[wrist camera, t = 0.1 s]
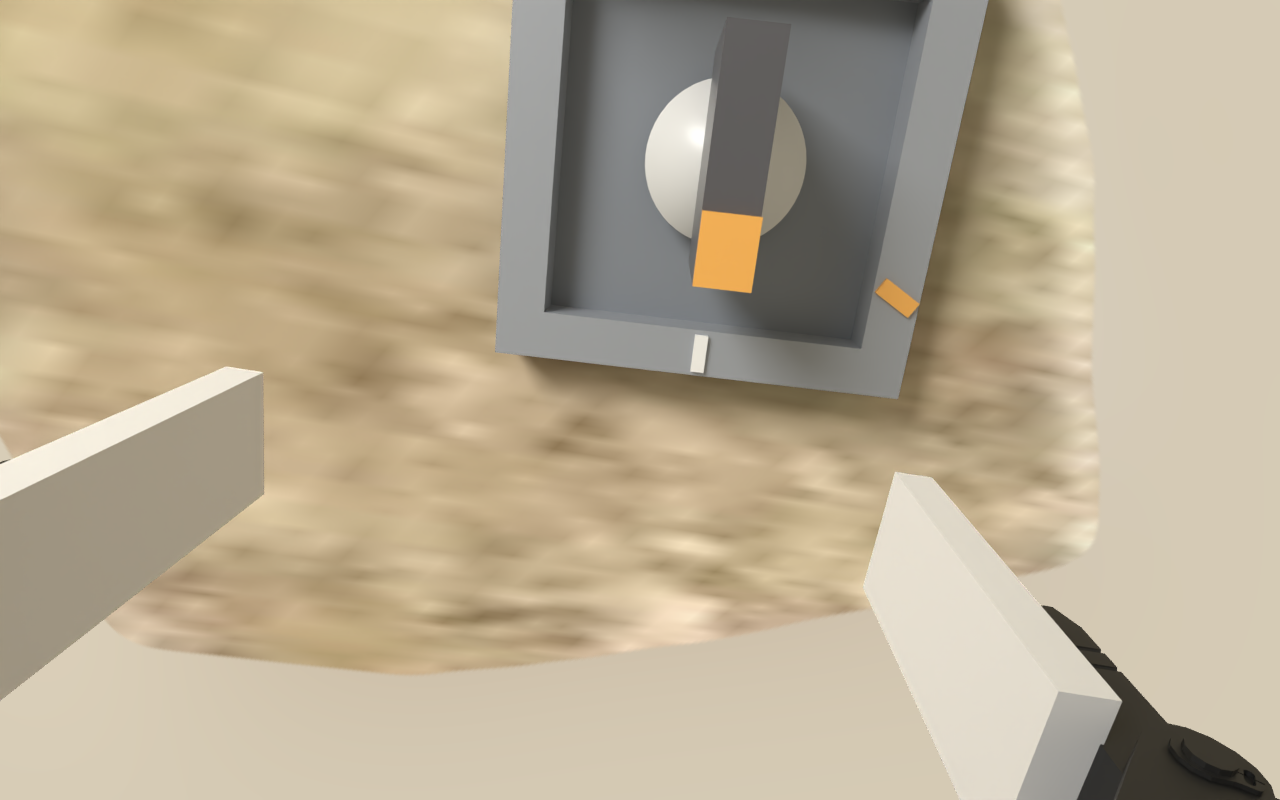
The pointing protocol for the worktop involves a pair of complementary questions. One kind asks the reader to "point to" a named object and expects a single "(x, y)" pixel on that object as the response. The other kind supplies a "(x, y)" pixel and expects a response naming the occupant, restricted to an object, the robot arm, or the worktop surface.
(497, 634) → the worktop surface
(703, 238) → the dial
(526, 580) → the worktop surface
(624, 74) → the dial panel
